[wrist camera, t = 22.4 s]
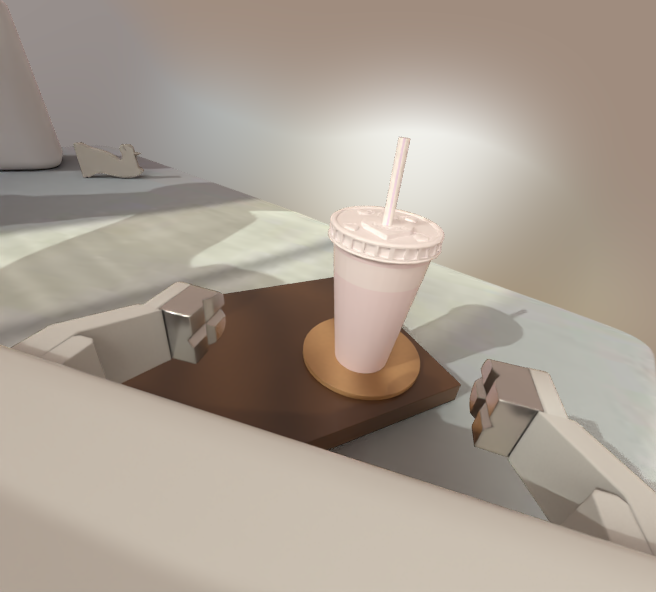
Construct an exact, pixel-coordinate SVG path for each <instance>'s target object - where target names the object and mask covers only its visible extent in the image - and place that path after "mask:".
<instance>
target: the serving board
mask: <svg viewBox="0 0 656 592" xmlns="http://www.w3.org/2000/svg"><path fill="white" fill-rule="evenodd" d="M223 295H224V302H225V304H224V306H223V307H222V308H221V309H222V311H223V312H224V314H225V315H226V325H225V330H224V332H223V334H222V336H221V337H220V339H219V340H218V341H217V342H216V343H213V344H210V345H208V352H207V353H206V354H205V355H204V356H203V357H202V358H201V359H200V361H199V362H198V363H197V364H193V363H189V362H185V361H181V360H177V359H174V358H171V360H169V361H167V362H165V363H163V364H161V365H158V366H156V367H154V368H152V369H150V370H148V371H146V372H144V373H142V374H140V375H138V376H136V377H133V378H131V379H129V380H127V381H125V382H123V383H121V384H123V385H126V386H129V387H133V388H136V389H139V390H142V391H145V392H148V393H151V394H154V395H157V396H160V397H163V398H167V399H170V400H173V401H176V402H179V403H182V404H185V405H188V406H191V407H195V408H198V409H201V410H204V411H207V412H210V413H213V414H216V415H219V416H223V417H226V418H229V419H232V420H235V421H238V422H241V423H244V424H247V425H251V426H254V427H257V428H260V429H263V430H266V431H269V432H272V433H275V434H278V435H282V436H285V437H288V438H291V439H294V440H297V441H300V442H303V443H306V444H309V445H313V446H316V447H319V448H322V449H325V450H328V449H331V448H333V447H336V446H338V445H341V444H343V443H346V442H349V441H351V440H354V439H356V438H359V437H361V436H364V435H366V434H369V433H371V432H374V431H376V430H379V429H381V428H384V427H386V426H389V425H391V424H394V423H396V422H399V421H401V420H404V419H406V418H409V417H411V416H414V415H416V414H419V413H421V412H424V411H426V410H429V409H431V408H434V407H436V406H439V405H441V404H444V403H446V402H449V401H451V400H454V399H455V397H456V395H457V392H458V390H459V388H460V386H461V384H460V383H459V382H458V381H457V380H456V379H455V378H454V377H453V376H451V375H450V374H449V373H448V372H447V371H446V370H445V369H444V368H443V367H442V366H441V365H440V364H439V363H438V362H437V361H436V360H435V359H434V358H433V357H432V356H431V355H430V354H429V353H428V352H427V351H425V350H424V349H423V348H422V347H421V346H420V345H419V344H418V343H417V342H416V341H415V340H414V339H413V338H412V337H411V336H410V335H409V334H408V333H407V332H406V331H405V330H404V329H403V328H401V330H400V332H399V335H398V337H397V339H396V342H395V344H394V346H393V348H392V351H391V353H390V355H389V358H388V360H387V362H386V364H385V366H384V367H383V368H382V369H381V370H379V371H377V372H374V373H357V372H354V371H351V370H349V369H347V368H345V367H344V366H342V365H341V364H340V363H339V362H338V360H337V358H336V356H335V324H334V277H332V278H326V279H319V280H313V281H306V282H299V283H293V284H286V285H280V286H273V287H267V288H260V289H254V290H247V291H241V292H234V293H228V294H223ZM97 314H98V313H97Z"/></svg>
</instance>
